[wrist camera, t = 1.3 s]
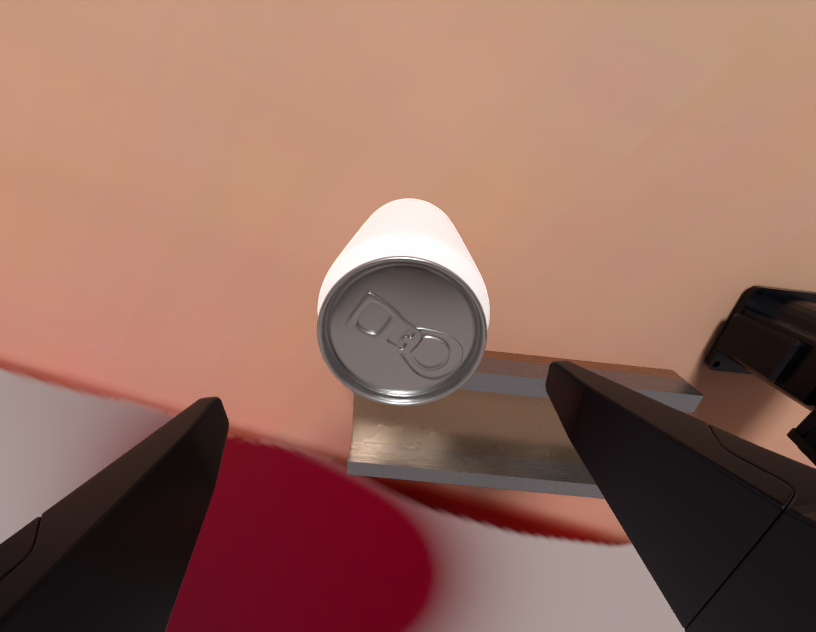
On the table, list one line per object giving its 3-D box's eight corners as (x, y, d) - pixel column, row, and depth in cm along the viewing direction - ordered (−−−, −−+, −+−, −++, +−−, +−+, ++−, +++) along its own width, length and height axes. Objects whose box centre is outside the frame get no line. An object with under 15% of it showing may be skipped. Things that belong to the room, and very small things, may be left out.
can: (419, 311, 24) (422, 441, 13) (341, 260, 22) (270, 358, 11) (479, 237, 21) (543, 320, 11) (396, 174, 20) (371, 194, 9)
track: (673, 370, 25) (703, 396, 23) (618, 470, 30) (638, 501, 27) (358, 337, 25) (351, 359, 22) (353, 445, 29) (346, 474, 27)
